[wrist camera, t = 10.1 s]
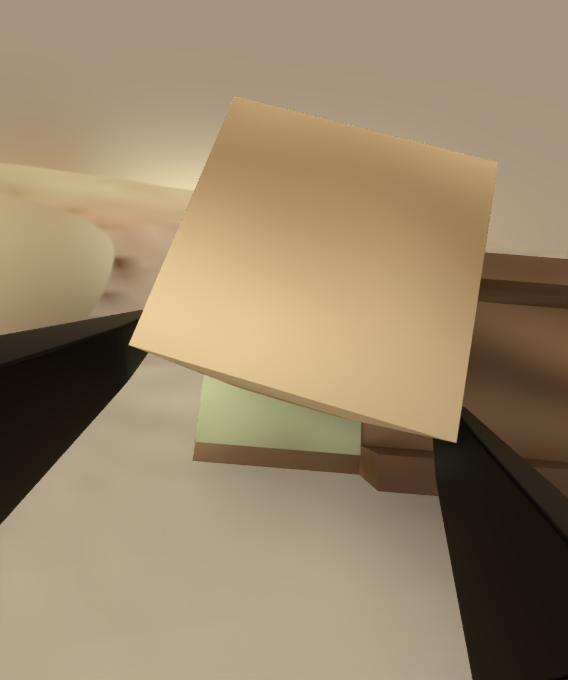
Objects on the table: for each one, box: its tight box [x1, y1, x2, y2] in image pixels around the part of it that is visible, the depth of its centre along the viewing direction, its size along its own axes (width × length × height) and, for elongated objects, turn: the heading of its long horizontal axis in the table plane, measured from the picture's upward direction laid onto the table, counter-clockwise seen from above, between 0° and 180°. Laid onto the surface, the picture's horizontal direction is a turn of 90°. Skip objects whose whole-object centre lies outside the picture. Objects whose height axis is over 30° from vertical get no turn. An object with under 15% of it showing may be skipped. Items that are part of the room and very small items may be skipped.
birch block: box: [129, 96, 498, 443], centre depth 11 cm, size 5×5×12 cm
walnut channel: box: [193, 253, 568, 497], centre depth 16 cm, size 12×30×6 cm, turn 86°
